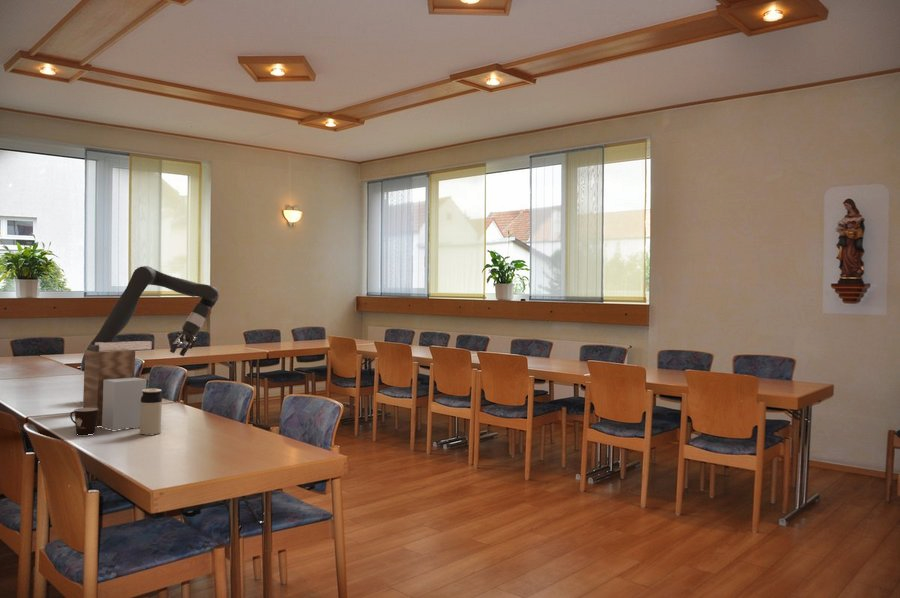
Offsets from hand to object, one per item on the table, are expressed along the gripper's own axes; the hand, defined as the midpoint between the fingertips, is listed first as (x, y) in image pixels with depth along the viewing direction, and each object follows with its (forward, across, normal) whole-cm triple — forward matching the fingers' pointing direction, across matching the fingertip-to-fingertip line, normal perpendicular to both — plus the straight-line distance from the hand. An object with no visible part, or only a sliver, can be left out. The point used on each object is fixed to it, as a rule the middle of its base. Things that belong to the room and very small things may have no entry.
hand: (176, 353), depth 325 cm
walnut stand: (+40, +2, -14) cm, 43 cm away
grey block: (+39, +16, -14) cm, 44 cm away
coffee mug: (+47, +17, -29) cm, 58 cm away
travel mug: (+37, +34, -13) cm, 52 cm away
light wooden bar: (+10, -1, -23) cm, 25 cm away
